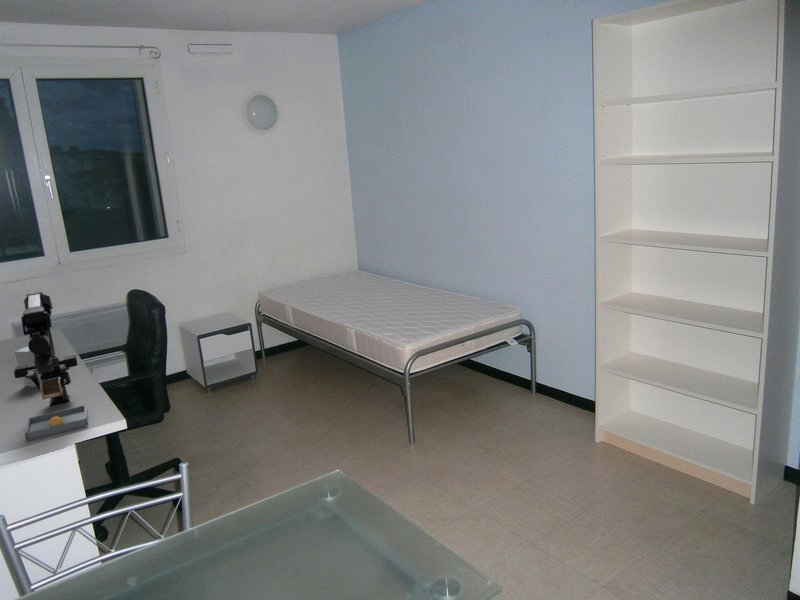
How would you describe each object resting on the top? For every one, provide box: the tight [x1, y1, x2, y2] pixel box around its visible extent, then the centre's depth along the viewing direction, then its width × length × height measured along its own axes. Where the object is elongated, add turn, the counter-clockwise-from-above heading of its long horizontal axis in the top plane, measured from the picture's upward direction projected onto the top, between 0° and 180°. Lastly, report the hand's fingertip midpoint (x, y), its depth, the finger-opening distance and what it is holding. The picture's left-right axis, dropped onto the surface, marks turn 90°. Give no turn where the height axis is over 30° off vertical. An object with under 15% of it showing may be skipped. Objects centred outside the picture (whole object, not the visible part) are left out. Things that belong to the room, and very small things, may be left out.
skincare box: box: [13, 346, 41, 388], centre depth 251 cm, size 8×7×16 cm
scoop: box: [39, 377, 63, 400], centre depth 211 cm, size 7×6×4 cm
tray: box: [24, 404, 89, 441], centre depth 208 cm, size 15×18×2 cm
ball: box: [49, 416, 63, 427], centre depth 203 cm, size 4×4×4 cm
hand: (52, 389), depth 211 cm, fingers closed on scoop, 6 cm apart
